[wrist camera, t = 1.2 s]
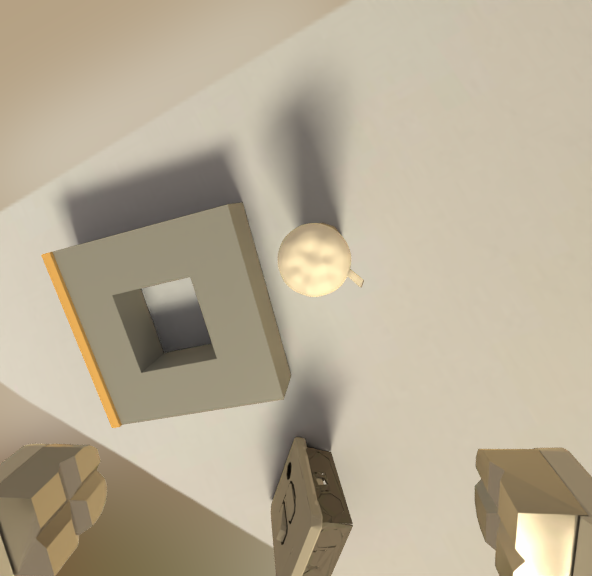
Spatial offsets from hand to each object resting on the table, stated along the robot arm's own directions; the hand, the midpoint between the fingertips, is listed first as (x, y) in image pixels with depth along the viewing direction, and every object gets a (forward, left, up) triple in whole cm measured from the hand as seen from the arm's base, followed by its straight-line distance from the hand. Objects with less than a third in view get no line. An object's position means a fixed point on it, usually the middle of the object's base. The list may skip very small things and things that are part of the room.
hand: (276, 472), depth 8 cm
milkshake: (0, -1, -24) cm, 24 cm away
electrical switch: (+7, +21, -25) cm, 33 cm away
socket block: (+14, +2, -24) cm, 28 cm away
